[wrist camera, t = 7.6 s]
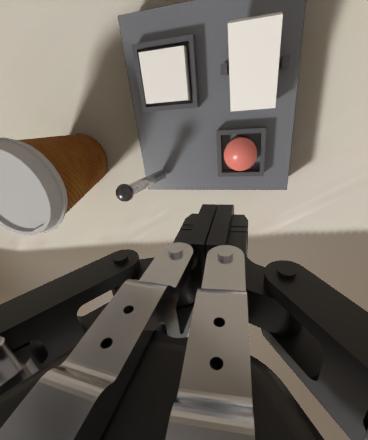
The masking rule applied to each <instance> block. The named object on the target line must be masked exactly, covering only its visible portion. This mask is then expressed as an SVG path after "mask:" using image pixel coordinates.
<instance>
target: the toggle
mask: <svg viewBox="0 0 368 440" xmlns="http://www.w3.org/2000/svg"><path fill="white" fill-rule="evenodd" d="M166 176H167V173H166V171H165V170H159V171H157V172H155V173H153V174H151V175H149V176H147V177H144V178H142V179H140V180H138V181H136V182H134V183H132V184H129V185H127V184H122V185H120V186H118V188H117V189H116V196H117V198H118V199H119V200H121V201H129V200H131V199H132V197H133V195H134V194H135V193H137V192H139V191H141V190H143V189H145V188H147V187H149V186H151V185H153V184H155V183H157V182H159V181H161V180H163V179H165V178H166Z"/></svg>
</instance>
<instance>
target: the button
mask: <svg viewBox="0 0 368 440" xmlns="http://www.w3.org/2000/svg"><path fill="white" fill-rule="evenodd" d="M256 158H257V147H256V144H255V142H254V141H253V140H252V139H251V138H249V137H246V136H237V137H235V138H233V139H232V140H230V141H229V143H228V144H227V146H226V148H225V151H224V160H225V162H226V164H227V165H228V166H229V167H230V168H231V169H233V170H236V171H243V170H247V169H249V168H250V167H251V166H252V165H253V164H254V163H255V161H256Z"/></svg>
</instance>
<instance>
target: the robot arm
mask: <svg viewBox="0 0 368 440" xmlns="http://www.w3.org/2000/svg"><path fill="white" fill-rule="evenodd" d="M247 249H248V220H247V218H246V217H245V216H244V215H234V205H206V204H203V205H202V207H201V209H200V212H199V214H191V215H190V216H189V217H187V218H186V219H185V221H184V223H183V225H182V227H181V229H180V231H179V233H178V235H177V236H176V238H175V240H174V242H173V243H172V244H168V245H166V246H164V247H163V248H162V249H161V250H160V251H159V252H158V254H157V255H156V257H154V258H147V259H140V260H139V255H138V253H137V252H135V251H133V250H120V251H117V252H114V253H112V254H110V255H108V256H105V257H103V258H101V259H99V260H97V261H94V262H92V263H90V264H88V265H86V266H83V267H81V268H79V269H77V270H75V271H73V272H71V273H69V274H66V275H64V276H62V277H59V278H57V279H55V280H53V281H51V282H49V283H47V284H44V285H42V286H40V287H38V288H36V289H33V290H31V291H29V292H27V293H25V294H23V295H20V296H18V297H16V298H14V299H12V300H9V301H7V302H5V303H3V304H1V305H0V440H324V439H323V437H322V436H321V435H320V433H319V432H318V430H317V429H316V428H315V426H314V425H313V423H312V422H311V421H310V419H309V418H308V417H307V415H306V414H305V413H304V411H303V410H302V408H301V407H300V405H299V404H298V403H297V401H296V400H295V399H294V397H293V396H292V394H291V393H290V392H289V390H288V389H287V388H286V386H285V385H284V384H283V382H282V381H281V380H280V379H279V378H278V377H277V375H276V374H275V373H274V372H273V371H272V370H271V369H269V368H268V367H267V366H266V365H265V364H263V363H262V362H260V361H259V360H258V359H256V358H254V357H252V356H251V355H250V346H249V326H248V323H251V324H253V325H255V326H257V327H260V328H261V330H262V334H263V336H264V337H265V338H266V339H267V341H268V342H269V343H270V344H271V345H272V346H273V348H274V349H275V350H276V351H277V353H278V354H279V355H280V356H281V357H282V358H283V360H284V361H285V362H286V363H287V364H288V366H289V367H290V368H291V369H292V370H293V372H294V373H295V374H296V375H297V376H298V377H299V379H300V380H301V381H302V382H303V383H304V384H305V386H306V387H307V388H308V389H309V390H310V392H311V393H312V394H313V395H314V396H315V398H316V399H317V400H318V401H319V402H320V404H321V405H322V406H323V407H324V408H325V409H326V411H327V412H328V413H329V414H330V415H331V417H332V418H333V419H334V420H335V421H336V423H337V424H338V425H339V426H340V427H341V429H342V430H343V431H344V432H345V433H346V434H347V436H348V437H349V438H350V439H351V440H368V312H367V311H365V310H364V309H362V308H361V307H360V306H358V305H357V304H355V303H354V302H352V301H351V300H350V299H348V298H347V297H345V296H344V295H342V294H341V293H340V292H338V291H337V290H335V289H334V288H332V287H331V286H330V285H328V284H327V283H325V282H324V281H322V280H321V279H320V278H318V277H317V276H315V275H314V274H313V273H311V272H310V271H308V270H307V269H305V268H304V267H303V266H301V265H299V264H297V263H294V262H291V261H275V262H272V263H270V264H268V265H267V266H266V267H263V266H260V265H257V264H255V263H253V262H251V261H250V260H249V259H248V257H247ZM109 290H112V293H113V296H114V297H113V298H112V299H111V301H110V302H108V303H107V304H105V305H103V306H101V307H99V308H98V309H96V310H94V311H92V312H90V313H89V314H87V315H85V316H82V317H80V316H77V311H78V309H79V308H80V307H81V306H82V305H83V304H85V303H87V302H89V301H91V300H93V299H94V298H96V297H98V296H100V295H102V294H104V293H106V292H108V291H109ZM189 329H190V331H189ZM188 332H189V336H188V337H187V335H188Z"/></svg>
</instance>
